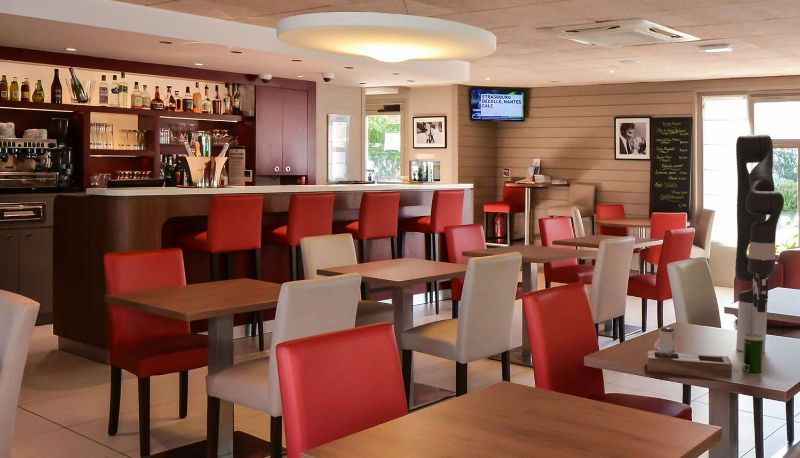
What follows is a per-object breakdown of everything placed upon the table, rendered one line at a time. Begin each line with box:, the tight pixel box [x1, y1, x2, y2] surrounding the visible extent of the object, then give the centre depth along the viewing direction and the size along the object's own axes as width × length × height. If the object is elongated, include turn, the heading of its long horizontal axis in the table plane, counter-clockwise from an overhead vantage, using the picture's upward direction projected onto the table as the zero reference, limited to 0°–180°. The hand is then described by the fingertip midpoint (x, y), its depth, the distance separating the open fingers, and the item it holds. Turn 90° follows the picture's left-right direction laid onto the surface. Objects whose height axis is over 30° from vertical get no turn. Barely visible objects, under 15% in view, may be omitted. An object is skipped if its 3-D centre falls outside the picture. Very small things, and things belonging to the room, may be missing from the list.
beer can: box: [742, 334, 764, 377], centre depth 253 cm, size 5×5×12 cm
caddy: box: [646, 350, 733, 379], centre depth 253 cm, size 11×24×5 cm, turn 74°
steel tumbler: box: [658, 326, 676, 359], centre depth 255 cm, size 5×5×13 cm
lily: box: [652, 338, 659, 351], centre depth 271 cm, size 12×12×10 cm
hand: (759, 309), depth 251 cm, fingers open, 8 cm apart
